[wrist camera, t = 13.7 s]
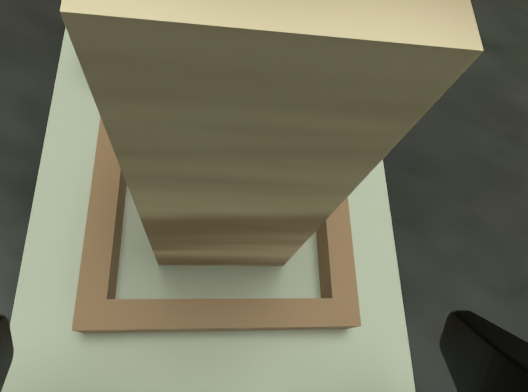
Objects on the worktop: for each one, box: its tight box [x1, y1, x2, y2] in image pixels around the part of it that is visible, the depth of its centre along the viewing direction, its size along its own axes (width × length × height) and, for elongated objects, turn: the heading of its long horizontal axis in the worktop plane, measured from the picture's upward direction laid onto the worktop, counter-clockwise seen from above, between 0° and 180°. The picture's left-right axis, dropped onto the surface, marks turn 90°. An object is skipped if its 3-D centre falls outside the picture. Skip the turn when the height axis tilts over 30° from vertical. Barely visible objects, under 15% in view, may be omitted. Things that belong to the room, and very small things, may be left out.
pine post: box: [60, 0, 483, 266], centre depth 12 cm, size 5×5×13 cm
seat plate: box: [1, 28, 415, 392], centre depth 16 cm, size 22×15×5 cm
